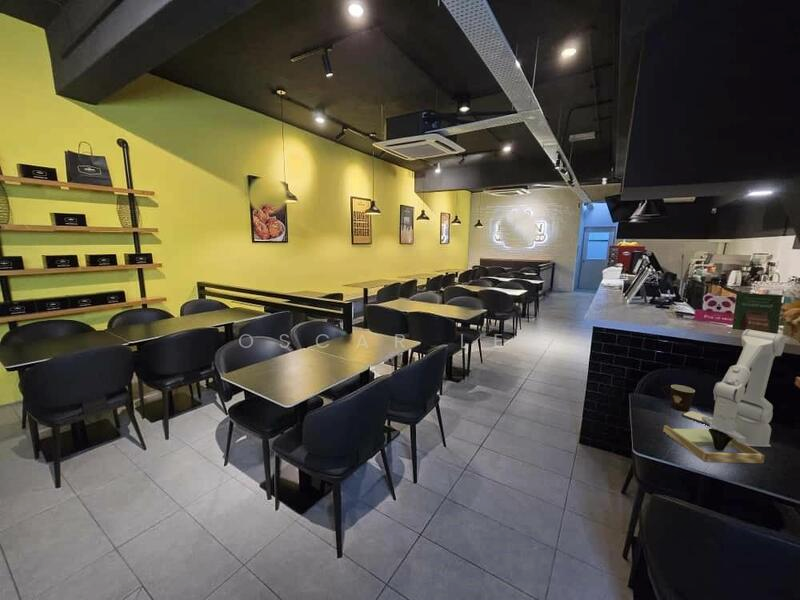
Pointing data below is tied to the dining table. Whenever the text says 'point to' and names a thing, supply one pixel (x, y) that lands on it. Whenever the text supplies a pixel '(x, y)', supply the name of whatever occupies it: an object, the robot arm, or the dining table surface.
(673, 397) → the coffee mug
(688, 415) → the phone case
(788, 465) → the dining table surface
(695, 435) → the cover plate
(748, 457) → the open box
